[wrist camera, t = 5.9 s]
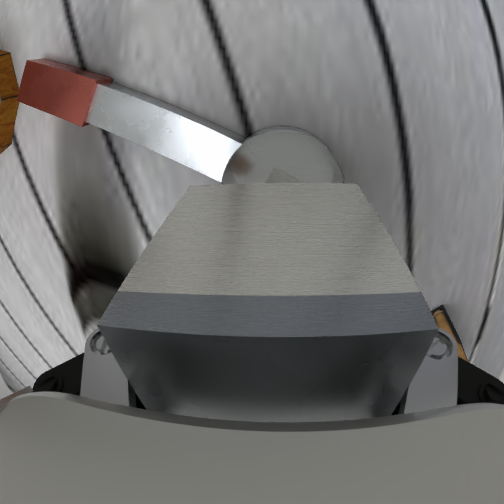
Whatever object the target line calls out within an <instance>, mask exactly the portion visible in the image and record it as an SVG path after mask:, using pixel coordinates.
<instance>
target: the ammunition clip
mask: <svg viewBox="0 0 504 504" xmlns="http://www.w3.org/2000/svg"><path fill="white" fill-rule="evenodd" d="M431 313H432V315H433V318H434V320H435V322H436V324H437V326H438V328H440V329H443V330H445V331H446V332H448V333H449V334H450V335H451V336H452V337H453V338H454V339H455V341H456V343H457V348H458V357H460V358H462V359H464V360H466V361H467V362H468V359H467V357H466V355H465V352H464V349H463V346H462V343H461V340H460V338H459V336H458V334H457V332H456V330H455V328H454V326H453V324H452V322H451V320H450V318H449V316H448V314H447V312H446V310H445V308H444V306H441V307H439V308H438V309H436V310H434V311H433V312H431Z"/></svg>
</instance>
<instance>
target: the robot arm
mask: <svg viewBox="0 0 504 504" xmlns="http://www.w3.org/2000/svg"><path fill="white" fill-rule="evenodd" d="M0 504H504V384H503V383H502V382H501V381H500V380H499V379H497V378H495V377H493V376H492V375H490V374H488V373H486V372H485V371H483V370H481V369H479V368H478V367H476V366H474V365H473V364H471V363H469V362H467V361H466V360H464V359H462V358H460V357H458V348H457V343H456V341H455V339H454V338H453V337H452V336H451V335H450V334H449V333H448V332H446V331H445V330H443V329H440V328H439V329H438V331H437V333H436V336H435V338H434V340H433V342H432V344H431V346H430V348H429V350H428V352H427V354H426V356H425V358H424V360H423V362H422V363H421V365H420V367H419V369H418V371H417V373H416V374H415V376H414V378H413V380H412V382H411V383H410V385H409V386H408V387H407V389H406V391H405V392H404V394H403V396H402V398H401V400H400V402H399V403H398V405H397V407H396V408H395V410H394V411H393V413H392V414H391V416H384V417H376V418H367V419H356V420H343V421H326V422H250V421H233V420H220V419H209V418H200V417H191V416H183V415H176V414H169V413H162V412H156V411H150V410H147V409H146V408H145V406H144V405H143V403H142V402H141V400H140V399H139V397H138V396H137V394H136V393H135V390H134V389H133V387H132V385H131V384H130V382H129V381H128V379H127V378H126V376H125V375H124V373H123V371H122V370H121V368H120V366H119V365H118V363H117V361H116V359H115V358H114V356H113V354H112V352H111V350H110V349H109V347H108V345H107V343H106V341H105V339H104V337H103V335H102V334H101V332H100V330H99V328H98V329H96V330H94V331H93V332H92V333H91V334H90V335H89V337H88V338H87V341H86V344H85V351H84V353H82V354H80V355H78V356H76V357H74V358H72V359H70V360H68V361H66V362H64V363H62V364H60V365H58V366H56V367H54V368H52V369H50V370H48V371H46V372H45V373H43V374H42V375H40V376H39V377H38V379H37V380H36V382H35V383H34V386H33V388H31V387H30V386H28V387H26V388H24V389H22V390H20V391H18V392H15V393H13V394H11V395H9V396H7V397H5V398H3V399H1V400H0Z"/></svg>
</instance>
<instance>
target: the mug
mask: <svg viewBox="0 0 504 504" xmlns="http://www.w3.org/2000/svg"><path fill="white" fill-rule="evenodd" d="M18 93H19V87H18V83H17V79H16V75H15V71H14V67H13V63H12V58H11V53H10V52H6V51H2V50H0V154H1V153H2V152H3V151H4V150H5V149H7V148H8V147H9V146H10V145H11V144H12V137H13V131H14V125H15V120H16V115H17V110H18V105H19V102H18V101H17V98H18Z"/></svg>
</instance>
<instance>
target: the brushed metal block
mask: <svg viewBox="0 0 504 504" xmlns="http://www.w3.org/2000/svg"><path fill="white" fill-rule="evenodd" d="M97 326H98V328H99V330H100V332H101V334H102V335H103V337H104V339H105V341H106V343H107V345H108V347H109V349H110V350H111V352H112V354H113V356H114V358H115V359H116V361H117V363H118V365H119V366H120V368H121V370H122V371H123V373H124V375H125V376H126V378H127V379H128V381H129V382H130V384H131V385H132V387H133V389H134V390H135V393H136V394H137V396H138V397H139V399H140V400H141V402H142V403H143V405H144V406H145V408H146V409H147V410H150V411H156V412H162V413H169V414H176V415H183V416H191V417H200V418H209V419H220V420H233V421H250V422H326V421H343V420H356V419H367V418H376V417H384V416H391V414H392V413H393V411H394V410H395V408H396V407H397V405H398V403H399V402H400V400H401V398H402V396H403V394H404V392H405V391H406V389H407V387H408V386H409V385H410V383H411V382H412V380H413V378H414V376H415V374H416V373H417V371H418V369H419V367H420V365H421V363H422V362H423V360H424V358H425V356H426V354H427V352H428V350H429V348H430V346H431V344H432V342H433V340H434V338H435V336H436V333H437V331H438V329H439V328H438V326H437V324H436V322H435V320H434V318H433V315H432V313H431V311H430V309H429V307H428V305H427V303H426V301H425V299H424V297H423V295H422V293H421V291H420V289H419V287H418V285H417V283H416V281H415V279H414V277H413V276H412V274H411V272H410V270H409V268H408V266H407V264H406V263H405V261H404V259H403V257H402V255H401V254H400V252H399V250H398V248H397V247H396V245H395V243H394V242H393V240H392V238H391V236H390V235H389V233H388V231H387V230H386V228H385V226H384V225H383V223H382V221H381V220H380V218H379V217H378V215H377V213H376V212H375V210H374V209H373V207H372V206H371V204H370V202H369V201H368V199H367V198H366V196H365V195H364V193H363V192H362V190H361V189H360V187H359V186H358V184H353V183H249V184H221V185H201V186H190V187H189V189H188V190H187V191H186V193H185V194H184V195H183V197H182V198H181V199H180V201H179V202H178V203H177V205H176V206H175V207H174V209H173V210H172V211H171V213H170V214H169V216H168V217H167V218H166V220H165V221H164V223H163V224H162V225H161V227H160V228H159V230H158V231H157V232H156V234H155V235H154V237H153V238H152V240H151V241H150V243H149V244H148V245H147V247H146V248H145V250H144V251H143V253H142V254H141V256H140V257H139V259H138V260H137V262H136V263H135V265H134V266H133V268H132V269H131V271H130V272H129V274H128V276H127V277H126V279H125V280H124V282H123V283H122V285H121V287H120V288H119V290H118V291H117V293H116V294H115V296H114V298H113V299H112V301H111V303H110V304H109V306H108V307H107V309H106V311H105V312H104V314H103V316H102V317H101V319H100V321H99V323H98V324H97Z"/></svg>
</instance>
